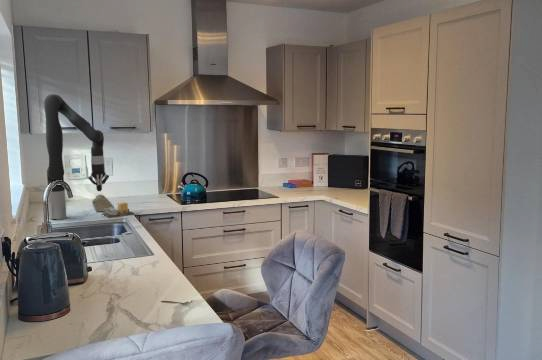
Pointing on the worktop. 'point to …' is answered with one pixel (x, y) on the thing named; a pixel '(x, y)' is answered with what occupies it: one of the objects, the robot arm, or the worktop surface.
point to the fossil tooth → (101, 203)
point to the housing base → (117, 214)
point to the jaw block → (123, 207)
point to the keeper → (111, 211)
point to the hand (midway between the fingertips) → (99, 191)
